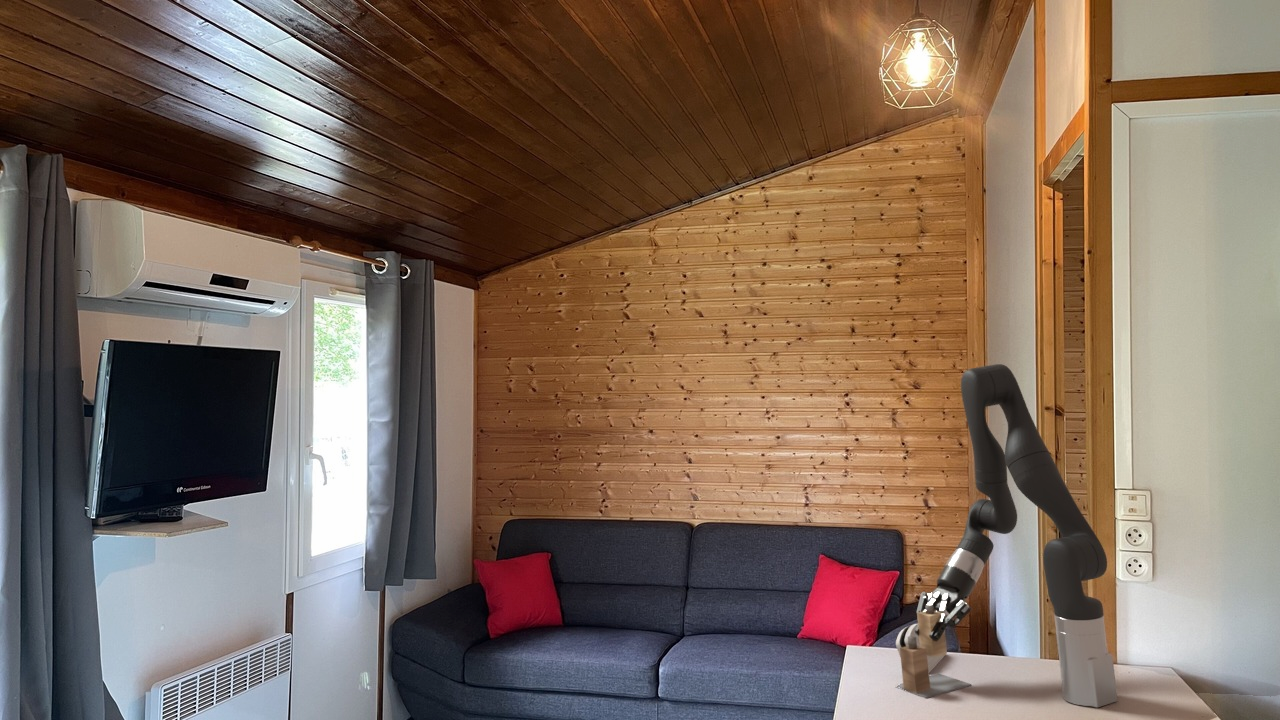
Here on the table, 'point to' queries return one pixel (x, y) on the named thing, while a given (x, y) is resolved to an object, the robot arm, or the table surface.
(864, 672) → the table surface
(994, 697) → the table surface
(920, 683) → the mount
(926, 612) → the wooden peg block
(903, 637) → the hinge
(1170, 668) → the table surface
